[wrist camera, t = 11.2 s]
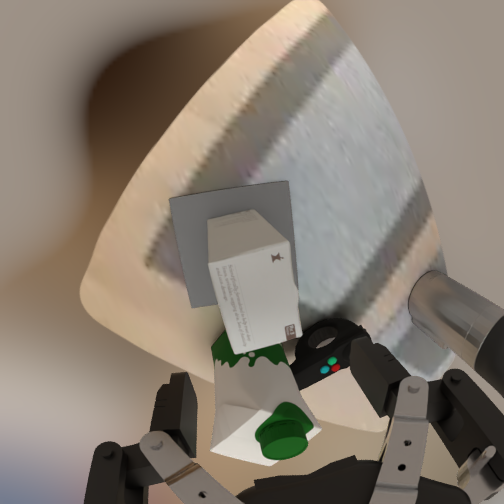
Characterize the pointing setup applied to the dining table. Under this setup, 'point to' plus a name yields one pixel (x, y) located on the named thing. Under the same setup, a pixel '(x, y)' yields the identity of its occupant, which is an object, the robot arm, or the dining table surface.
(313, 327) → the controller
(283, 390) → the milk carton
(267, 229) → the skincare box
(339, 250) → the dining table surface
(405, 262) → the dining table surface
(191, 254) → the mat
